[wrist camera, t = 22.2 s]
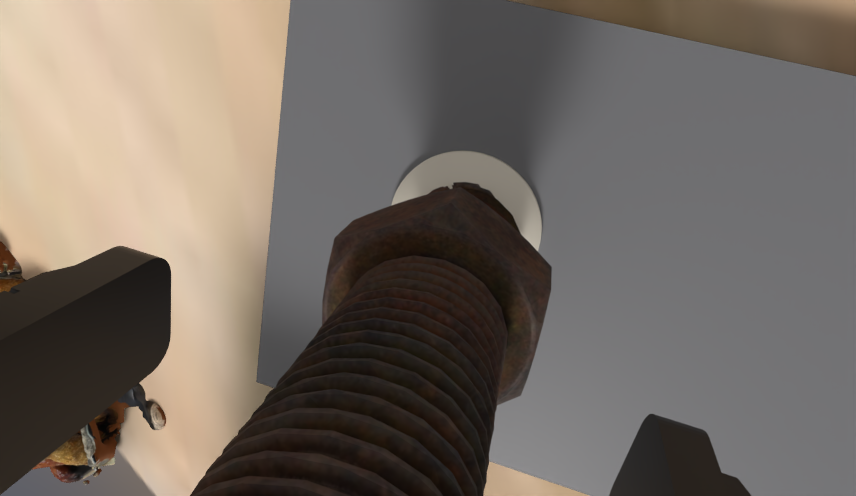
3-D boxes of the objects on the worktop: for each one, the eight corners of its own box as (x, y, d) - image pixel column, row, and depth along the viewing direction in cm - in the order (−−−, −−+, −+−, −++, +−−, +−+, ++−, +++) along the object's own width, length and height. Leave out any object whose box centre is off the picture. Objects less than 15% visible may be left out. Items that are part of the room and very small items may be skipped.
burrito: (-29, 197, 22) (-134, 226, 19) (178, 415, 23) (115, 475, 20) (-87, 284, 25) (-186, 321, 21) (102, 472, 26) (35, 534, 23)
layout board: (1129, 137, 12) (1183, 146, 11) (823, 552, 18) (839, 585, 17) (311, -41, 15) (290, -47, 14) (269, 366, 21) (253, 385, 20)
